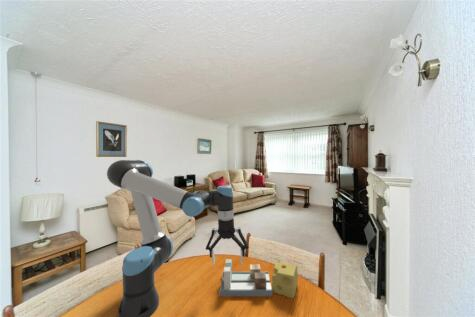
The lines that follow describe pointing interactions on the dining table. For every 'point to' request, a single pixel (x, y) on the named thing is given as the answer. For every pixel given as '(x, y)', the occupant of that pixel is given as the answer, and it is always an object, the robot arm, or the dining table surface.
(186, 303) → the dining table surface
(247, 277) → the strip rear
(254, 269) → the maple block
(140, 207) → the robot arm
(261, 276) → the walnut block
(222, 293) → the lane board
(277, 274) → the cheese
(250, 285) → the strip front
